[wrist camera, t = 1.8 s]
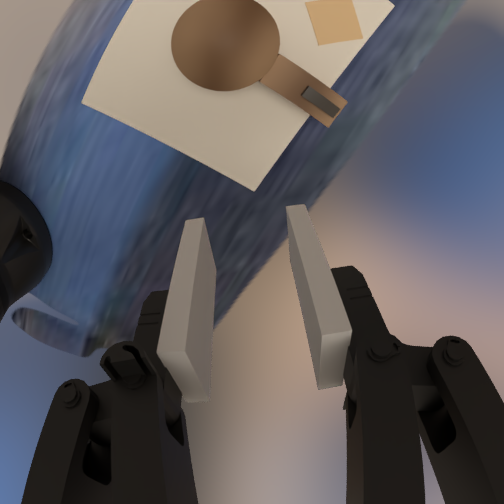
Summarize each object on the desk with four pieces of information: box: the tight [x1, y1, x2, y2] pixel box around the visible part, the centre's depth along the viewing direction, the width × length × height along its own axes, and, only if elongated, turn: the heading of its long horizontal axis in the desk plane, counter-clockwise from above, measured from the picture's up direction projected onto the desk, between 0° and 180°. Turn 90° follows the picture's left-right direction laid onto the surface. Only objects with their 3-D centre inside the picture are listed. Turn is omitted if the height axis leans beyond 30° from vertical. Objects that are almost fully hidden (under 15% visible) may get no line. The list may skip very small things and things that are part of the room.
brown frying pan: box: [171, 0, 347, 127], centre depth 20 cm, size 13×7×5 cm, turn 57°
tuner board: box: [81, 0, 394, 191], centre depth 21 cm, size 18×22×1 cm
